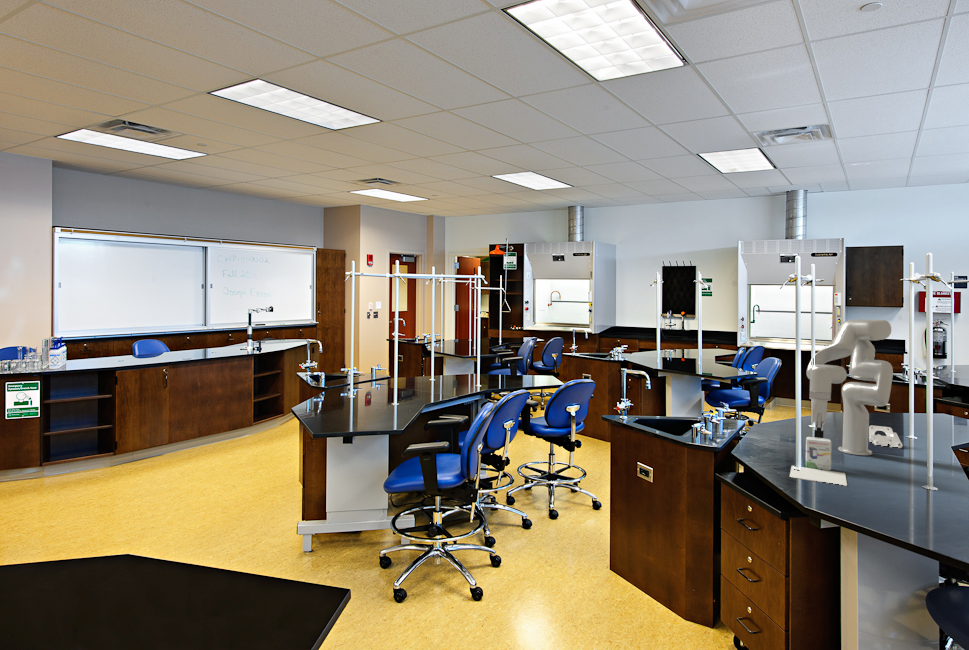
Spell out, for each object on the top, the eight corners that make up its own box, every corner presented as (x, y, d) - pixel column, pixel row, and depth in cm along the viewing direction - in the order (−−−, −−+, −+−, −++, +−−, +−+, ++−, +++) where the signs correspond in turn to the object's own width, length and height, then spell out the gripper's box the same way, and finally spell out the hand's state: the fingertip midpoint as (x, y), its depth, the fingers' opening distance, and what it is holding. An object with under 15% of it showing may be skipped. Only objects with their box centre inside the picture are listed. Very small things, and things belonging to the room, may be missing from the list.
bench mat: (791, 466, 217) (791, 465, 217) (845, 474, 208) (845, 473, 207) (789, 477, 202) (789, 476, 202) (847, 486, 192) (847, 485, 192)
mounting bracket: (900, 450, 254) (899, 428, 257) (903, 448, 249) (902, 425, 252) (869, 447, 260) (869, 425, 263) (871, 444, 255) (870, 422, 258)
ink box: (829, 468, 216) (830, 438, 215) (831, 471, 211) (832, 441, 211) (805, 464, 220) (805, 436, 219) (805, 468, 215) (806, 438, 215)
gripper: (809, 393, 230) (808, 435, 231) (809, 397, 218) (807, 442, 218) (830, 394, 226) (829, 437, 227) (831, 399, 214) (829, 444, 214)
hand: (818, 439), depth 222 cm, fingers closed
